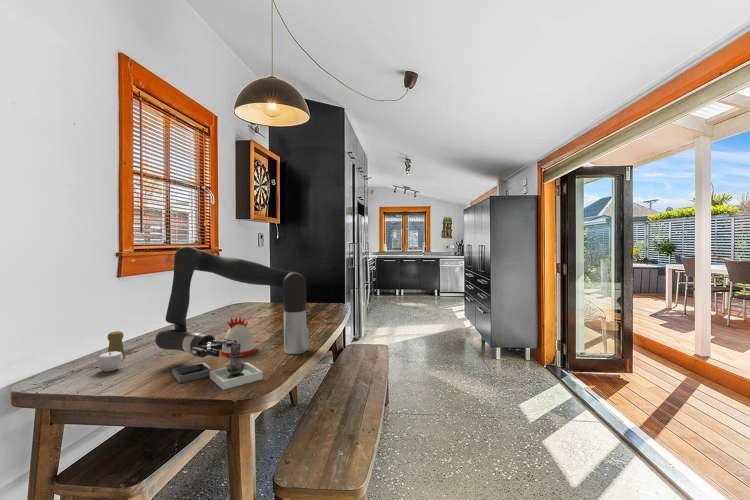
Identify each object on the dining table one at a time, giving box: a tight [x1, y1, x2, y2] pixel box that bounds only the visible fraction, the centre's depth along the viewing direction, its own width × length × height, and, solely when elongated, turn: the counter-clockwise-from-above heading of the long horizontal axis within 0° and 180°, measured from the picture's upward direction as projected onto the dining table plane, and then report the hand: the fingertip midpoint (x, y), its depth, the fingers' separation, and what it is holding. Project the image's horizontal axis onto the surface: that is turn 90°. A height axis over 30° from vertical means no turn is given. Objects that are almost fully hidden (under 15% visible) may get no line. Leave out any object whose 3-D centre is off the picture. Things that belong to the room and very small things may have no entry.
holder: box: [171, 362, 214, 384], centre depth 125 cm, size 10×10×2 cm
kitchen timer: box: [220, 316, 257, 358], centre depth 151 cm, size 14×14×15 cm
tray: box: [209, 362, 264, 391], centre depth 121 cm, size 13×13×2 cm
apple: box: [96, 351, 124, 372], centre depth 131 cm, size 8×8×7 cm
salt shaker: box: [225, 341, 245, 379], centre depth 121 cm, size 6×6×12 cm
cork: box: [106, 330, 126, 360], centre depth 143 cm, size 6×6×11 cm
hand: (229, 350), depth 122 cm, fingers open, 8 cm apart
